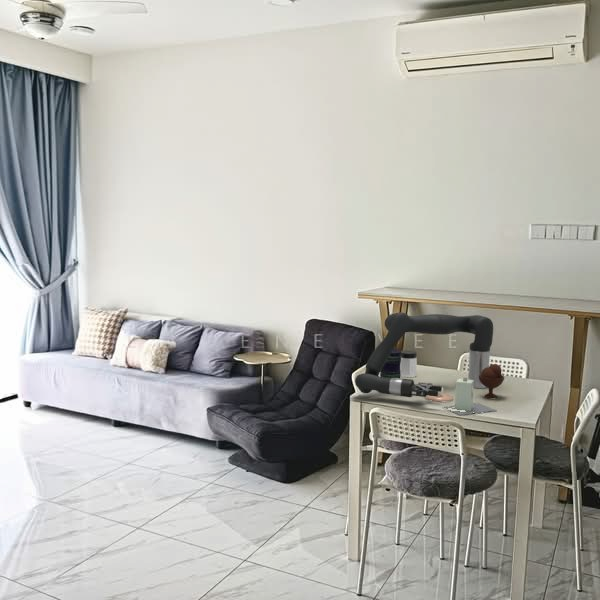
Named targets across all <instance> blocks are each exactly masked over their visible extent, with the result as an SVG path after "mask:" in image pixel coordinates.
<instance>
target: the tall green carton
mask: <svg viewBox="0 0 600 600" xmlns="http://www.w3.org/2000/svg"><path fill="white" fill-rule="evenodd" d="M454 403H455V405H454V406H455V409H457V410H465V411H471V410H472V408H473V403H474V380H468V378H467V377H463V378H458V379H457V380H456V383H455V401H454Z"/></svg>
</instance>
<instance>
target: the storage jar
mask: <svg viewBox="0 0 600 600" xmlns="http://www.w3.org/2000/svg"><path fill="white" fill-rule="evenodd" d="M401 351H402V350H401V349H397V348H394V349H393V350H392V352H391V354H390V355H389V357H388V359H387V361H386V362H385V364H384V366H383V368H382V370H381V371H380V373H379V377H386V378H402V377H401V374H400V373H401V370H400V363H401Z"/></svg>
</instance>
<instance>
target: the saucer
mask: <svg viewBox="0 0 600 600" xmlns="http://www.w3.org/2000/svg"><path fill="white" fill-rule="evenodd" d="M425 398H426V399H425ZM424 399H425V400H427V399H428V400H427V401H429V400H432V401H431V402H434V401H450V400H452V399H453V400H454V396H453V395H452V394H450V393H444V392H443V397H436V396H429V395H428V396H426V397H424ZM453 400H452V401H453ZM450 402H451V401H450Z"/></svg>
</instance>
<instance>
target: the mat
mask: <svg viewBox="0 0 600 600" xmlns="http://www.w3.org/2000/svg"><path fill="white" fill-rule="evenodd" d="M448 406H449V407H448ZM443 407H444V408H446V409H448V408H452V407H455V405H447V406H443ZM444 408H443V409H444ZM446 409H445V410H446ZM452 409H455V408H452ZM490 411H495V412H497V409H494V408H492V407H490V406H487V405H484V404H483V403H480V402H476V403H474V402H473V408H472V410H471V411H466V412H460V411H452V412H451V410H450V411H449V412H451V413H453V414H456V415H458V416H460V417H461V416H469V415H473V414H472V413H473V412H474V413H478V414H482V413H481V412H486V413H491V412H490Z"/></svg>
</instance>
